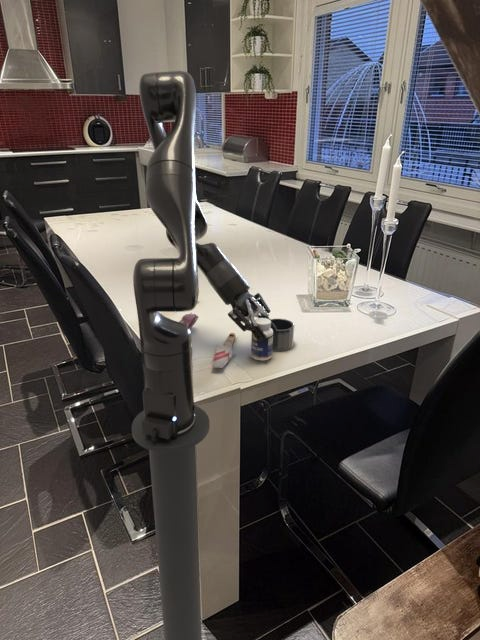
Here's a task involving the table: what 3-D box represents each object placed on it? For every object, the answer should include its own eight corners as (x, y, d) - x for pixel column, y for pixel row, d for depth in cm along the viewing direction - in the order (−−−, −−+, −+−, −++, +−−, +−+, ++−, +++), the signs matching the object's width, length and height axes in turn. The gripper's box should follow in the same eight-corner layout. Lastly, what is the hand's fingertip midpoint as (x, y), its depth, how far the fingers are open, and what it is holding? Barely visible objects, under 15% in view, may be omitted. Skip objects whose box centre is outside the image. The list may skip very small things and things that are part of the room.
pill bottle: (247, 357, 117) (248, 322, 114) (256, 349, 122) (257, 315, 118) (266, 362, 115) (268, 326, 111) (275, 354, 120) (277, 319, 116)
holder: (289, 353, 122) (290, 332, 119) (259, 348, 124) (260, 328, 121) (295, 340, 129) (297, 320, 126) (267, 336, 131) (268, 316, 128)
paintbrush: (208, 361, 110) (226, 330, 129) (208, 371, 111) (226, 339, 130) (224, 362, 110) (239, 331, 128) (224, 372, 111) (239, 340, 129)
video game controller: (178, 345, 128) (187, 326, 125) (164, 336, 129) (174, 317, 125) (194, 332, 137) (203, 313, 133) (181, 323, 137) (190, 305, 134)
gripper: (221, 281, 108) (266, 338, 107) (250, 266, 119) (290, 318, 119) (202, 298, 112) (245, 354, 112) (231, 282, 124) (270, 332, 123)
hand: (268, 335), depth 115 cm, fingers closed on pill bottle, 5 cm apart
